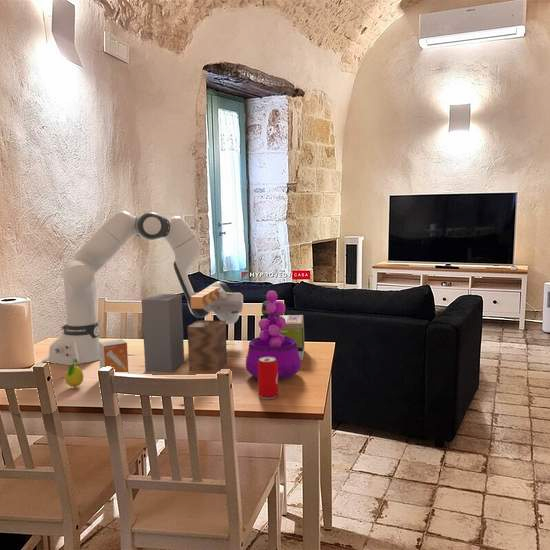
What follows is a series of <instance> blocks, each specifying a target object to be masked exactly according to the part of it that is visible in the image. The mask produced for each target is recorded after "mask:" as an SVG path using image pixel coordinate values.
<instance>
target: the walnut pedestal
mask: <svg viewBox="0 0 550 550" xmlns="http://www.w3.org/2000/svg"><path fill="white" fill-rule="evenodd" d="M187 345H188V347H187V349H188V350H187V351H188V371H193V370H195V371H194V372H197V371H199V372H220V371H221V370H222V368H224V366H225V365H226V364H227V363H228V357H227V356H228V352H227V351H228V349H227V324H226V321H221V320H204V319H203V320H202V319H201V320H200V319H199V320H198V319H197V320H196V321H194V322H192V323H191V324H189V325H188V326H187ZM220 369H221V370H220ZM219 370H220V371H219Z"/></svg>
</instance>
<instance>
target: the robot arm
mask: <svg viewBox="0 0 550 550" xmlns="http://www.w3.org/2000/svg"><path fill="white" fill-rule="evenodd" d="M134 236H137V237H139V238H142V239H143V240H146V241H152V240H157V239H158V240H159V239H161V238H163V239H164V240H166V242H167V243H168V244H169V246H170V249H172V252H173V253H174V259H175V260H174V262H173V269H174V272H175V274H176V277H177V279H178V282H179V284H180V286H181V289H182V291H183V293H184V296H185V298H186V299H185V300H186V301H187V306H188V308H189V311H190V313H191V314H192V316H194V317H195V318H200V319H201V318H202V319H203V318H205V317H207V316H208V315H209V314H211V313H212V312H213V314H214V315H215V316H216V317H217V318H218V319H219V321H226V325H232V324H235V323H236V322H237V321H238V320H239V317H240V313H242V311H243V308H244V307H243V306H244V295H243V294H242V293H241V292H232V290H231V289H230V288H229V286H228V285H227V284H226V282H223V281H219V280H218V281H215V282H213V283H212V284H210V285H208V286H207V287H205V288H204V289H202V290H201V291H203V290H205V289H207V288H209V287H220V291H217V292H218V293H217V295H218V296H220V298H218V299H217V300H215V301H213V302H212V303H210V304H209V305H207V306H206V307H204V308H202V309H194V308H191V296H193V295H195V294H197V293H198V292H195V291H194V289H193V286H192V284H191V282H190V279H189V275H188V274H189V271H190V270H191V268H192V267H193V265H194V264H195V263H196V261H197V260H198V258H199V257H200V254H201V251H202V245H201V243H200V241H199V239H198V236H197V235H196V234H195V232H194V231H193V230H192V228H191V226H190V225H189V224H188V223H187V222H186V221H185V219H184V218H183V217H181V216H178V215H173V216H170V217H168V218H166V217H164V216H163V215H161V214H159V213H157V212H153V211H146V212H143V213H141V214H139V215H136V216H135V215H133V214H132V213H130V212H128V211H126V210H118V211H116V212H115V213H113V215H111V216H110V217H109V218H108V219H107V220H106V221H105V222H104V223H102V225H101V226H100V227H99V228H98V229H97V230H96V231H95V232H94V234H93V235H92V236H91V237H90V238H89V240H87V241H86V243H84V244H83V246H82V247H81V248H80V249H79V250H78V251H77V252H76V253H75V254H74V255H73V256H72V257H71V258H70V259H69V261H68V262H67V263H66V264H65V265H64V267H63V274H62V275H63V284H64V285H63V287H64V299H65V302H64V304H65V313H66V315H65V316H66V317H65V318H66V324H64V325H63V326H61V327H60V328H61V329H60V330H61V331H62V330H63V332H62V334H61V335H60V336H59V337H58V338H57V339H55V340H54V341H53V342H51V344H50V346H49V347H48V348H49V349H48V350H49V351H48V355H46V356H44V357H43V358H42V362H43V361H49V362H51V363H50V364H56V363H58V364H57V365H67V366H70V365H72V364H73V358H74V360H75V359H77V361H78V364H77V363H76V362H74V365H75V366H77V365H80V364H86V363H93V362H96V361H98V360H99V361H100V358H99V342H100V338H99V335H100V327H99V321H98V319H97V318H98V316H97V315H98V314H97V301H96V298H97V297H96V293H97V292H96V291H97V290H96V275H97V274H98V273H99V272H100V270H102V269H103V268H104V267H105V266H106V265H107V264H108V263H109V262H111V260H112V259H113V258H114V257H115V256H116V255H117V254H118V252H119V251H120V250H121V249H122V248H123V246H125V244H126V243H127V241H128V240H129V239H131V238H132V237H134Z"/></svg>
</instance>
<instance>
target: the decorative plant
mask: <svg viewBox="0 0 550 550" xmlns="http://www.w3.org/2000/svg"><path fill="white" fill-rule="evenodd" d="M265 297H266V298H265V299H266V301H270V302H269V303H268V304H267V305H266V311H267V312H269V320H268V319H263V318H261V319H260V320H259V321H258V327H259V328H260V332H259V337H255V338H253V339H251V340H250V341H249V343H248V350H247V355H246V359H245V369H246V371H247V372H248V373H249V374H250V376H253V377H255V378H258V362H259V358H261V357H275V358H276V361H277V363H278V381H279V380H283V379H286V378H289V377H293V376H294V375H296V374H297V373H298V372H299V370H300V369H301V364H302V363H301V362H302V361H301V360H300V357H299V353H298V349H297V343H296V340H295V339H293V338H290V337H285V336H283V335H281V334H279V332H280V328H283V327H284V326H285V324H286V321H285V319H284V318H283V317H277V318H276V319H275V314H277V315H281V314H282V313H284V314H285V311H286V304H285V303H284V301H283V302H281V300H278V298H279V296H278V294H277V292H276V291H275V290H269V291H267V293H266V295H265ZM274 301H276V302H274ZM273 302H274V303H273ZM266 329H267V330H266Z"/></svg>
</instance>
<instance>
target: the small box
mask: <svg viewBox="0 0 550 550" xmlns="http://www.w3.org/2000/svg"><path fill="white" fill-rule="evenodd" d="M99 358H100V359H99V369H100V368H102V367H106V366H111V367H114V369H115V372H128V373H129V358H128V342H127V341H125V340H123V339H122V338H121V339H120V338H119V339H112V340H108V341H107V340H106V341H101V342H100V341H99Z"/></svg>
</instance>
